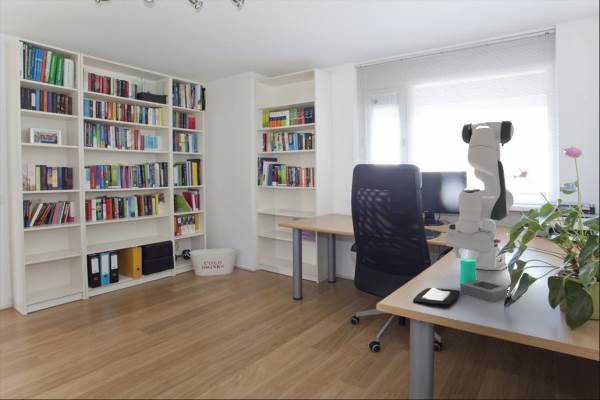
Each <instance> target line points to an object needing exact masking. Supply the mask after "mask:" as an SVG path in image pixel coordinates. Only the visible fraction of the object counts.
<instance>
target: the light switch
mask: <svg viewBox="0 0 600 400" xmlns="http://www.w3.org/2000/svg"><path fill="white" fill-rule="evenodd" d="M460 294H461V293H460V290H457V289H449V288H439V287H438V288H437V287H426V288H425V289H424V290H422V291H420V292H419V293H418V294H417V295H416V296H415V297H414V298H413V301H412V303H414V304H417V305H422V306H430V307H443V308H447V307H450V306H451V305H453V304H454V303H455V302H456V301H457V300H458V299H459V297H460Z"/></svg>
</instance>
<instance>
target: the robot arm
mask: <svg viewBox="0 0 600 400" xmlns="http://www.w3.org/2000/svg"><path fill="white" fill-rule="evenodd" d="M514 132H515V129H514V125H513V123H512V121H510V120H507V119H501V120H499V119H498V120H497V119H487V120H479V121H469V122H467V123H465V124H464V125H463V127H462V129H461V133H460V134H461V139H462V141H463V142H464V143H465V144H468V148H467V149H468V150H467V162H468V163H469V165H470V166H471V167H472V168H473V170H474V172H473V174H474V176H475V178H476V179H477V180H479V181H481V182H482V183H483V185H484V187H483V188H482V187H468V188H467V187H466V188H463V189H462V190H461V191H460V193H459V195H458V199H457V200H458V211H459V217H458V221H457V222H454V223H449V224H447V226H446V227H447V231H446V234H445V244H446V246H447V247H451V248H453V249H452V250H453V252H454V254H455V258H456V259H462V258H461V257H462V254H461V253H460V252H459V250H460V249H461V250H467V256H466V259H468V256H469V259H472V260H476V270H477V269H478V270H483V271H484V270H487V271H491V270H493V271H503V270H505V269H507V268H508V267H507V264H508V263H509V262H507V261H506V253H505V254H504V255H501V256H499V257H497V258H496V259H495V257H496V256H497V255H498V254H499V252H500V251H501V250H502V249H501V248H500V247H499V244H501V242H502V241H501V239H500V238H497V224H496V222H495V221H498V222H499V221H503V219H506V218H507V217H508V216H509V213H510V209H511V208H512V207H513V205H514V201H515V200H514V199H515V198H514V195H513V193H512V192H511V191H509V190H508V189H507V187H506V186H507V185H506V178H505V170H504V166H503V163H502V161H501V147H503V146H504V145H505V144H507V143H509V142H510V141H511V140H512V138H513V137H514V134H515V133H514ZM500 144H501V145H500ZM506 267H507V268H506Z"/></svg>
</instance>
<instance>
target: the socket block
mask: <svg viewBox="0 0 600 400" xmlns="http://www.w3.org/2000/svg"><path fill="white" fill-rule="evenodd" d="M508 286H509V285H507V284H503V283H498V282H494V281H491V280H486V279H482V278H478V279H477V278H476V280H473V281H470V282H466V283H462V284H460V289H459V292H460V294H463V295H467V296H470V297H474V298H477V299H479V300H480V299H481V300H483V301H487V302H490V303H494V302H497V301H501V300H503V299H506V298H507V297H506V296H507V293H508V291H509V290H507V287H508ZM505 297H506V298H505Z"/></svg>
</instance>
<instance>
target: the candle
mask: <svg viewBox="0 0 600 400" xmlns="http://www.w3.org/2000/svg"><path fill="white" fill-rule="evenodd" d="M459 271H460V273H459V279H460V280H459V283H460V285H461V284H462V283H466V282H470V281H473V280H477V268H476V260H472V259H469V256H468V259H467V258H460V270H459Z"/></svg>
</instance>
